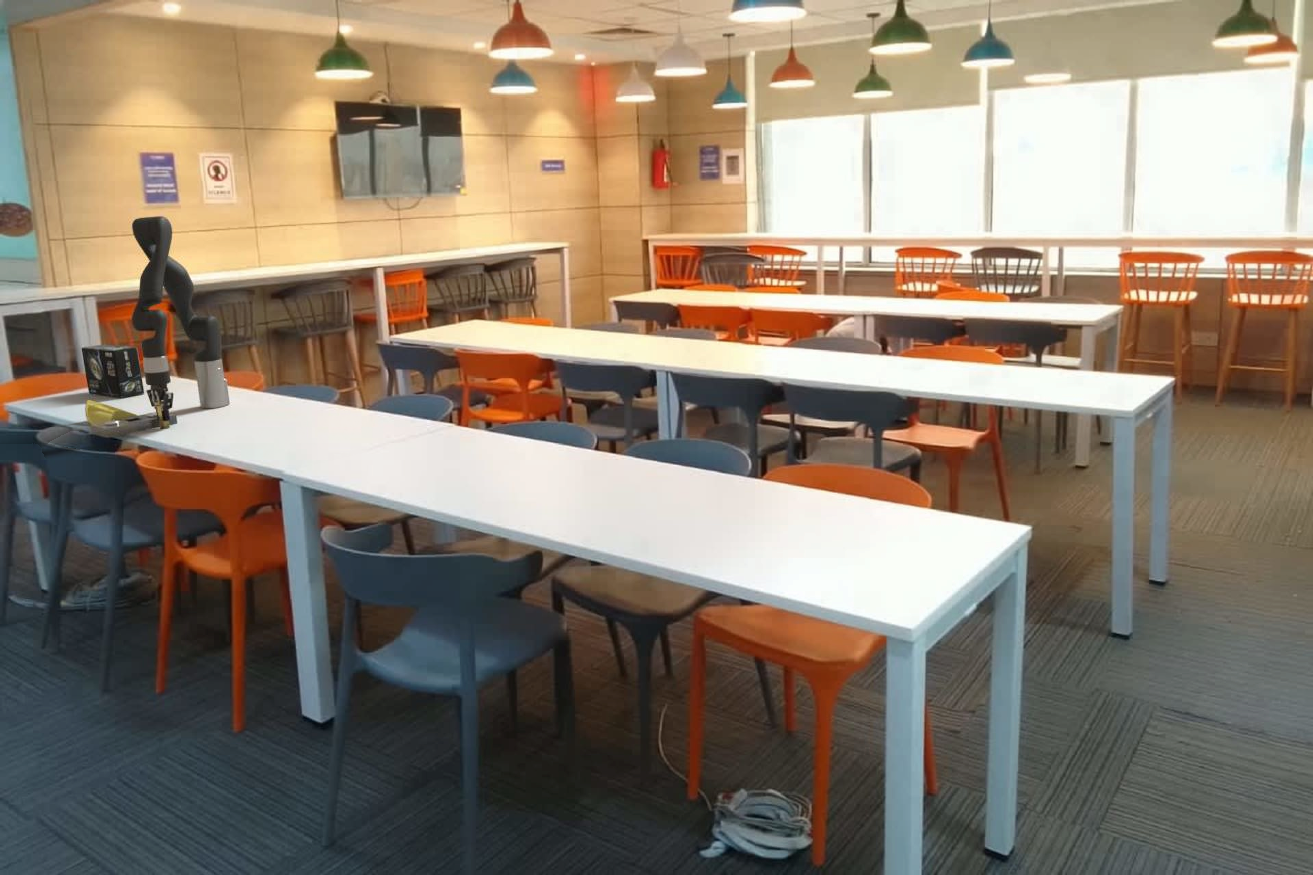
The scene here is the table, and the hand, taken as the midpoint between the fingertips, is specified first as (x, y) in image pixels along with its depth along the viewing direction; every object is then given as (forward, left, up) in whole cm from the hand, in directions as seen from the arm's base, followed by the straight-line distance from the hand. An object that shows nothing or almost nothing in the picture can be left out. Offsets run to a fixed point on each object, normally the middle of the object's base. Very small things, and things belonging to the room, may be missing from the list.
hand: (163, 420), depth 353 cm
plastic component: (+6, -26, -3) cm, 27 cm away
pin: (0, 0, -3) cm, 3 cm away
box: (-21, -78, -3) cm, 80 cm away
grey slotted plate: (+6, -9, -3) cm, 11 cm away
